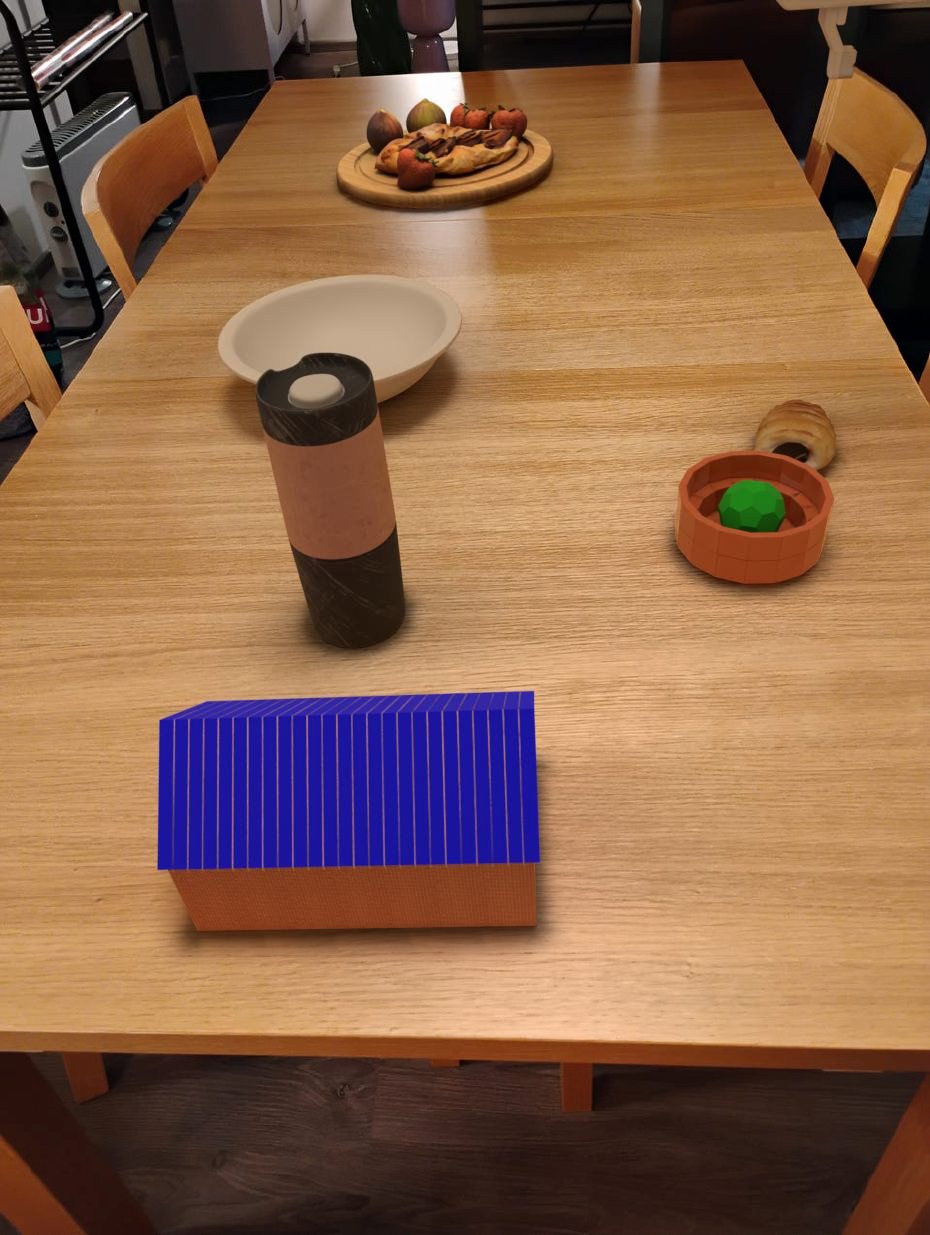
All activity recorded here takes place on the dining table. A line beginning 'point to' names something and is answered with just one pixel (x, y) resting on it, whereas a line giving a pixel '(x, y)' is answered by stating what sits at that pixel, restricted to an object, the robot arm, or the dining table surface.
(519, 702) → the house
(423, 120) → the wooden plate
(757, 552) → the dessert bowl
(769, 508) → the polyhedron
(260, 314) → the soup bowl
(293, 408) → the travel mug
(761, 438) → the pastry
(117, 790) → the dining table surface
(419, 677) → the dining table surface
